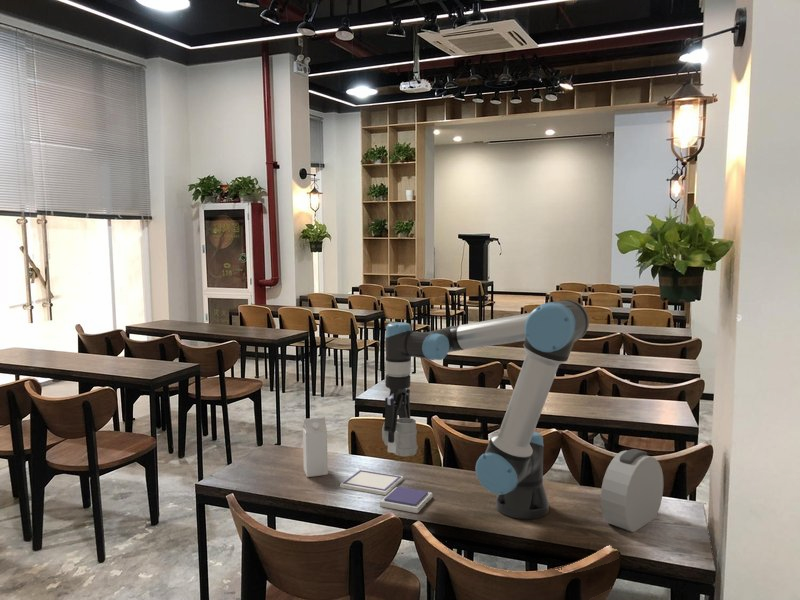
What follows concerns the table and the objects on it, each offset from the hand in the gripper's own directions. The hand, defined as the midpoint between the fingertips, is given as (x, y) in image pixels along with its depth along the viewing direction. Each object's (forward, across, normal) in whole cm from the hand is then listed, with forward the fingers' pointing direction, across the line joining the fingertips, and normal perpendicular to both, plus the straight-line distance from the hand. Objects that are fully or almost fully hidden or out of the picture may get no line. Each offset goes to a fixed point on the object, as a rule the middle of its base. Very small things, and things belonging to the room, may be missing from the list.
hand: (397, 448), depth 186 cm
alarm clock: (+15, -10, +67) cm, 69 cm away
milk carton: (+16, -9, -34) cm, 39 cm away
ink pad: (+16, +2, +4) cm, 16 cm away
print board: (+16, -7, -12) cm, 21 cm away
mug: (+1, 0, 0) cm, 1 cm away
